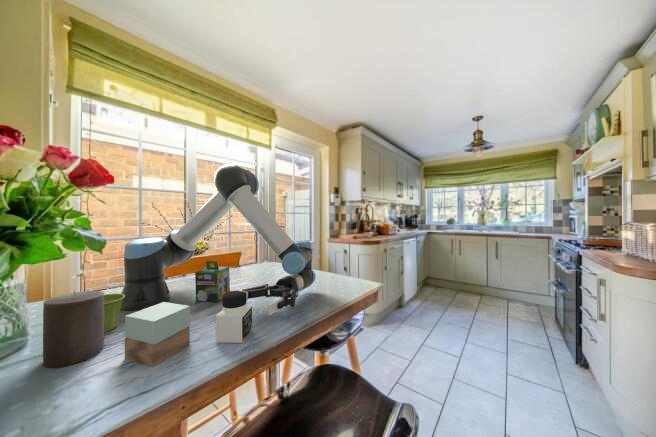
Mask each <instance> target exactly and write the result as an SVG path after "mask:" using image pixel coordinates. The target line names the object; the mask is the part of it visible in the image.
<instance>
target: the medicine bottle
mask: <svg viewBox="0 0 656 437" xmlns="http://www.w3.org/2000/svg"><path fill="white" fill-rule="evenodd" d="M247 302H248V300H247V294H246V292H245V291H242V289H234V290H233V289H232V290H230V291H228V292H226V293H225V294H224V295H223V296H222V309H221V311H219V312H218V313H217V314H216V315H215V343H217V344H219V343H222V344H224V343H225V344H227V343H228V344H229V343H230V344H243V343H244V342H245V340H246V338H247V337H248V336H249V335H250V333H251V332H252V330H253V306H252V304H251V305H249V304H248V305H247Z"/></svg>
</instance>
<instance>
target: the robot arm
mask: <svg viewBox="0 0 656 437" xmlns="http://www.w3.org/2000/svg"><path fill="white" fill-rule="evenodd" d="M213 180H214V181H213V182H214V186H215V188H216V192H215V193H214V194H213V195H212V196H211V197H210V198H209V199H208V201H206V202H205V204H203V205H202V206H201V207H200V208H199V209H198V210H197V212H195V214H193V216H192V217H191V218H190V219H188V220H187V222H186V223H184V225H183V226H181V228H179V229H174V230H172V231H171V232H170V233H169V234H168V235H167V236H166V237H164V238H163V237H158V236H157V237H155V236H154V237H145V238H139V239H133V240H131V241H129V242H127V243H126V244H125V245H124V252H123V262H124V263H123V265H124V266H123V267H124V268H123V269H124V285H123V289H122V291H121V293H120V294H124V295H125V298H124V299H123V302H122V303H121V308H120V310H125V311H135V310H143V309H146V308H148V307H151V306H154V305H157V304H159V303H162V302H168V301H169V300H170V299H171V293H170V290H169V287H168V285H167V282H166V280H165V269H167V268H172V267H174V266H179V265H183V264H185V263H187V262H188V261H190V260H191V259H192V258H193V256H194V254H195V250H196V249H197V247H198V245H197V243H198V242H199V241H200V240H201V239H202V238H203V237H204V236H205V235H206V234H207V233H209V231H210V230H211V229H212V228H213V227H214V226H215V225H216V224H218V222H219V221H220V220H221V219H222V218H223V217H224V216H226V214H227V213H228V212H230V210H231V209H232V208H234V207H235V208H236V209H237V210H238V211H239V213H240V214H241V215H242V216H243V218H244V219H245V220H246V221H247V222H248V223H249V225H250V226H251V227H252V228H253V229H254V231H255V232H256V233H257V234H258V235H259V236H260V237H261V238H262V240H263V241H264V242H265V243H266V244H267V246H268V247H269V248H270V249H271V251H273V253H274V254H275V255H276V256H277V258H278V259H279V260H280V261H281V267H282V269H283V271H284V272H285V273H287V274H288V275H285V276H284V277H280V278H279V279H278V280H277V281H276V283H275V284H273V285H270V286H269V284H268V283H266V284H262V285H257V286H253V287H248V288H243V289H241V290H242V291H245V292H246V294H247V301H248V300H249V299H255V298H264V297H265V298H277V299H276V300H274V301H272V302H270V303H269V304H267V315H268V316H271V315H272V314H275V313H276V312H278V311H279V310H281V309H283V308H287V307H291V308H294V307H295V306H296V304H295V303H296V300H297V298H298V297H299V293H300V292H301V291H303V290H305V289H307V288H309V287H311V286H312V284H314V283H315V280H316V278H317V276H316V273H315V271H314V269H312V250H313V249H312V242H311V241H309V240H296V241H294V240H293V239H292V238H291V237H290V236H289V234H288V233H287V232H286V231H285V230H284V229H283V227H282V226H281V225H280V224H279V223H278V221H276V219H275V218H274V217H273V216H272V214H271V213H270V212H269V211H268V210H267V209H266V208H265V207H264V205H263V204H262V203H261V202H260V201H259V199H258V198H257V196H256V194H257V193H258V192H259V189H260V188H259V187H260V183H259V179H258V177H257V176H256V175H255V173H253V172H252V171H250V170H249V169H246V168H243V167H240V166H239V165H236V164H231V163H228V164H223V165H222V166H220V167H219V168H217V170H216V172H215V174H214V179H213Z"/></svg>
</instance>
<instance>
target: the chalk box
mask: <svg viewBox="0 0 656 437" xmlns="http://www.w3.org/2000/svg"><path fill="white" fill-rule="evenodd" d="M205 264H206V267H204V268H202V269H199V270H197V271H195V272H194V276H195V279H194V280H195V302H203V303H204V302H206V303H219V302H220V301H221V300H222V296H223V295H224V294H225V293H226V292H228V291H231V286H230V285H231V284H230V281H231V280H230V266H219V263H218V261H217V260H205ZM211 264H213V265H214V266H211Z"/></svg>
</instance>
